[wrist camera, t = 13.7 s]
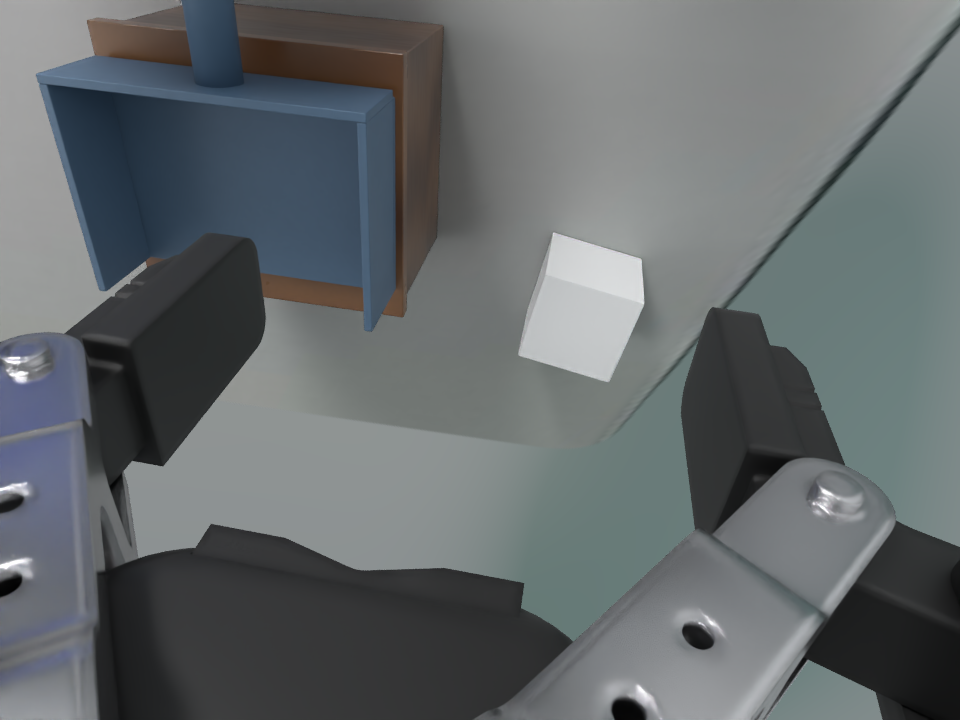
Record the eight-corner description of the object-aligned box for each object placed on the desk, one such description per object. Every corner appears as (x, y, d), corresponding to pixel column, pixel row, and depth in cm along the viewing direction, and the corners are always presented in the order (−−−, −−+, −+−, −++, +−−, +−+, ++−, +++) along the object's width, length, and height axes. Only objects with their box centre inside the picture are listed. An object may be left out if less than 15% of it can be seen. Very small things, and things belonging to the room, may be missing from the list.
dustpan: (396, 289, 36) (372, 332, 33) (147, 253, 38) (99, 290, 34) (394, -200, 25) (356, -215, 21) (34, -226, 26) (-59, -245, 22)
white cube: (553, 232, 44) (545, 274, 39) (641, 258, 44) (645, 303, 39) (527, 308, 47) (517, 355, 42) (609, 332, 47) (608, 382, 42)
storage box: (195, -7, 39) (85, 19, 31) (449, 19, 38) (403, 53, 30) (232, 227, 48) (153, 295, 39) (440, 255, 46) (403, 333, 38)
